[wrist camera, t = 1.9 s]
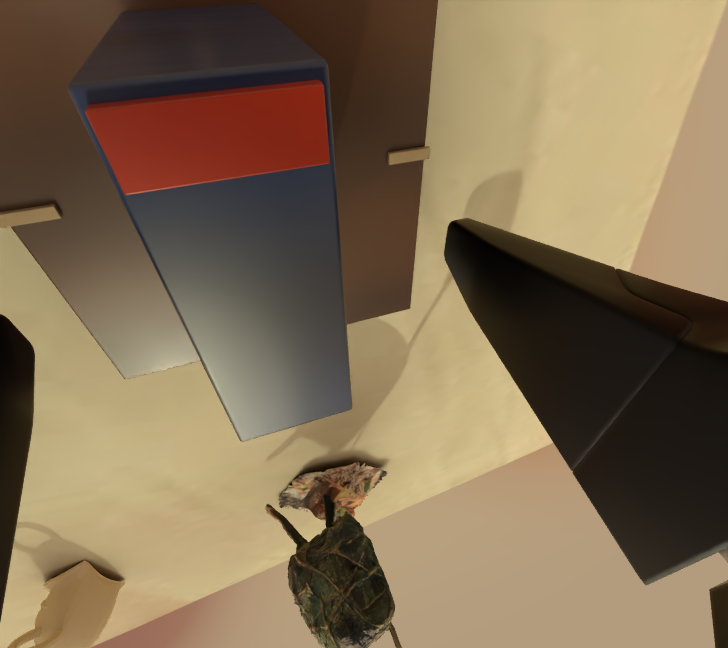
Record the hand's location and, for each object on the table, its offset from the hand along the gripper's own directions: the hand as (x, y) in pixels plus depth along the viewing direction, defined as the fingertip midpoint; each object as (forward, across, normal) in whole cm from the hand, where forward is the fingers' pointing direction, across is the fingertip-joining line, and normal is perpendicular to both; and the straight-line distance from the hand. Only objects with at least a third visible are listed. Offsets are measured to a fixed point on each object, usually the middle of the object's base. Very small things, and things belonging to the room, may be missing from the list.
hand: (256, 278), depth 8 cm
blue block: (+5, 0, 0) cm, 5 cm away
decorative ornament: (+8, +20, +31) cm, 38 cm away
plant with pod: (+8, -1, +28) cm, 29 cm away
